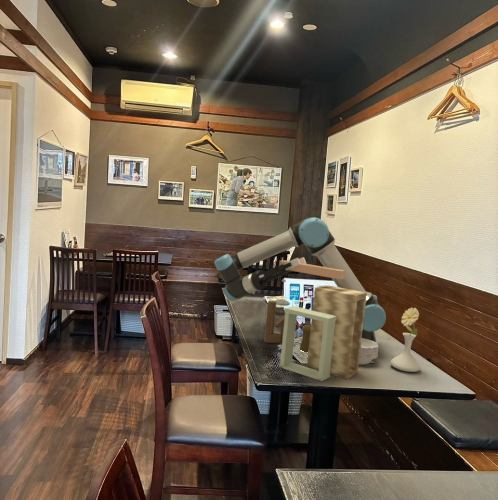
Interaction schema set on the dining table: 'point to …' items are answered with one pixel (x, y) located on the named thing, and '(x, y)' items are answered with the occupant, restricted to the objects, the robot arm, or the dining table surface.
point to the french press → (280, 311)
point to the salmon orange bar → (317, 270)
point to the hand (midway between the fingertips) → (301, 260)
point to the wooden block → (273, 325)
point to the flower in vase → (407, 344)
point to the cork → (305, 338)
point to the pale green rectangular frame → (325, 346)
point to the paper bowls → (368, 351)
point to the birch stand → (338, 329)
